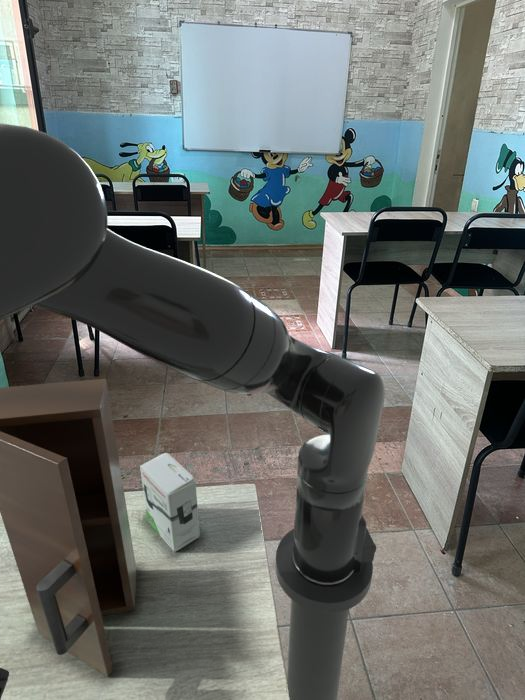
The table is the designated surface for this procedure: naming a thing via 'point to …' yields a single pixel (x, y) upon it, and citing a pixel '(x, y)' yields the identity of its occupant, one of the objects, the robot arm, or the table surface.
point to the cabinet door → (51, 550)
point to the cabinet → (83, 472)
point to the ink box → (170, 501)
